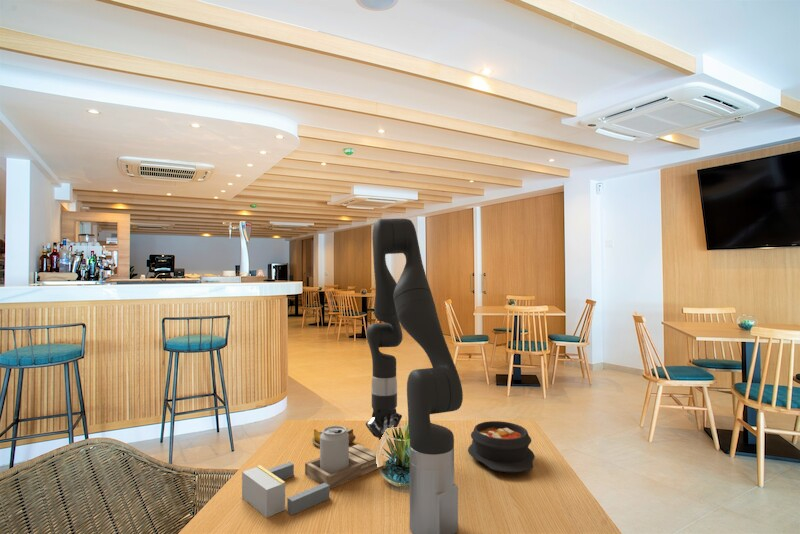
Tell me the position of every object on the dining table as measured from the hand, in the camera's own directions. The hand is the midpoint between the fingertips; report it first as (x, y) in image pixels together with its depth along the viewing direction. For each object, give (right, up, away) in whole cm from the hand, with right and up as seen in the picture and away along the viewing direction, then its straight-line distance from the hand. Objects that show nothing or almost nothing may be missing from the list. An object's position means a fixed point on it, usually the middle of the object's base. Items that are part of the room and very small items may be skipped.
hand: (384, 449), depth 126 cm
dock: (-23, -1, -23) cm, 33 cm away
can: (-13, -1, -13) cm, 18 cm away
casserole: (+34, -2, -3) cm, 34 cm away
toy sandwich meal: (-16, -2, +9) cm, 19 cm away
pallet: (-10, -1, -10) cm, 15 cm away
